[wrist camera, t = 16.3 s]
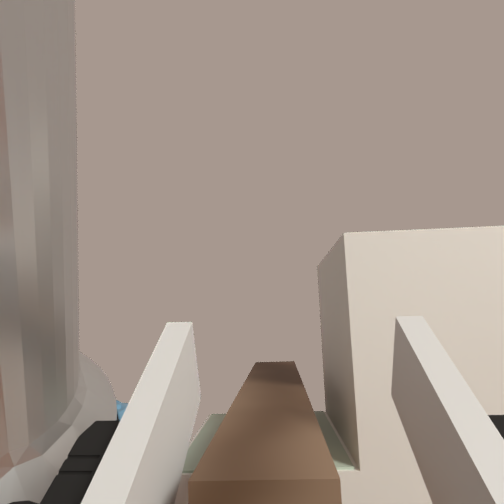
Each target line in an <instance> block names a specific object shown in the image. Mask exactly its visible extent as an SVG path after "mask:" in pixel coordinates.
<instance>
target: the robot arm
mask: <svg viewBox="0 0 504 504" xmlns="http://www.w3.org/2000/svg"><path fill="white" fill-rule="evenodd" d="M76 124H77V123H76V40H75V0H0V504H175V500H176V496H177V492H178V488H179V484H180V480H181V476H182V472H183V468H184V464H185V459H186V455H187V451H188V447H189V443H190V439H191V435H192V431H193V427H194V423H195V419H196V415H197V411H198V407H199V403H200V399H201V394H200V385H199V377H198V368H197V360H196V351H195V342H194V334H193V325H192V322H170V323H169V322H168V323H167V324H166V326H165V329H164V330H163V333H162V334H161V337H160V339H159V341H158V343H157V345H156V347H155V349H154V351H153V353H152V355H151V358H150V360H149V362H148V364H147V366H146V368H145V370H144V372H143V374H142V376H141V378H140V381H139V383H138V385H137V387H136V389H135V391H134V393H133V395H132V397H131V399H130V401H129V403H121V402H119V401H117V400H116V397H115V395H114V391H113V388H112V386H111V383H110V381H109V379H108V377H107V376H106V374H105V373H104V371H103V370H102V369H101V368H100V367H99V366H98V365H97V364H96V363H95V362H94V361H93V360H92V359H90V358H89V357H87V356H86V355H85V354H83V353H82V352H80V351H79V289H78V207H77V206H78V205H77V125H76ZM391 396H392V398H393V401H394V404H395V406H396V409H397V412H398V414H399V417H400V419H401V422H402V425H403V427H404V430H405V433H406V435H407V438H408V440H409V443H410V446H411V448H412V451H413V454H414V456H415V459H416V461H417V464H418V467H419V469H420V472H421V475H422V477H423V480H424V482H425V485H426V488H427V490H428V493H429V496H430V498H431V501H432V503H433V504H504V415H487V413H486V412H485V410H484V409H483V407H482V406H481V404H480V403H479V401H478V400H477V398H476V397H475V395H474V394H473V392H472V390H471V389H470V387H469V386H468V384H467V383H466V381H465V380H464V378H463V377H462V375H461V374H460V372H459V371H458V369H457V368H456V366H455V365H454V363H453V362H452V360H451V359H450V357H449V355H448V354H447V352H446V351H445V349H444V348H443V346H442V345H441V343H440V342H439V340H438V339H437V337H436V336H435V334H434V333H433V331H432V330H431V328H430V327H429V325H428V324H427V322H426V320H425V319H424V317H423V316H397V317H396V319H395V336H394V353H393V370H392V387H391Z"/></svg>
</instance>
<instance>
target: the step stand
mask: <svg viewBox="0 0 504 504" xmlns="http://www.w3.org/2000/svg"><path fill="white" fill-rule="evenodd" d="M317 268H318V285H319V302H320V319H321V336H322V353H323V369H324V385H325V386H324V387H325V404H326V412H323V411H314V413H315V416H316V418H317V421H318V423H319V426H320V429H321V431H322V434H323V436H324V439H325V441H326V444H327V446H328V449H329V451H330V454H331V457H332V459H333V462H334V464H335V467H336V469H337V472H338V474H339V477H340V483H341V499H342V504H433V503H432V501H431V498H430V496H429V493H428V490H427V488H426V485H425V482H424V480H423V477H422V475H421V472H420V469H419V467H418V464H417V461H416V459H415V456H414V454H413V451H412V448H411V446H410V443H409V440H408V438H407V435H406V433H405V430H404V427H403V425H402V422H401V419H400V417H399V414H398V412H397V409H396V406H395V404H394V401H393V398H392V396H391V387H392V370H393V353H394V336H395V319H396V317H397V316H423V317H424V319H425V320H426V322H427V324H428V325H429V327H430V328H431V330H432V331H433V333H434V334H435V336H436V337H437V339H438V340H439V342H440V343H441V345H442V346H443V348H444V349H445V351H446V352H447V354H448V355H449V357H450V359H451V360H452V362H453V363H454V365H455V366H456V368H457V369H458V371H459V372H460V374H461V375H462V377H463V378H464V380H465V381H466V383H467V384H468V386H469V387H470V389H471V390H472V392H473V394H474V395H475V397H476V398H477V400H478V401H479V403H480V404H481V406H482V407H483V409H484V410H485V412H486V413H487V415H504V226H490V227H467V228H443V229H421V230H398V231H375V232H352V233H343V234H342V236H341V237H340V238H339V239H338V241H337V242H336V243H335V245H334V246H333V247H332V248H331V250H330V251H329V252H328V254H327V255H326V256H325V257H324V259H323V260H322V261H321V263H320V264H319V265H318V266H317ZM225 416H226V414H212V415H209V416H208V418H207V419H206V421H205V422H204V424H203V425H202V426H201V428H200V429H199V431H198V432H197V434H196V435H195V436H194V438H193V439H192V441H191V442H190V444H189V447H188V451H187V455H186V459H185V464H184V468H183V472H182V476H181V480H180V484H179V488H178V492H177V496H176V500H175V504H188V480H189V479H190V477H191V475H192V473H193V472H194V470H195V468H196V466H197V465H198V463H199V461H200V459H201V458H202V456H203V454H204V452H205V451H206V449H207V447H208V445H209V444H210V442H211V440H212V438H213V437H214V435H215V433H216V431H217V430H218V428H219V426H220V424H221V423H222V421H223V419H224V417H225Z"/></svg>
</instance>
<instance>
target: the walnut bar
mask: <svg viewBox="0 0 504 504" xmlns="http://www.w3.org/2000/svg"><path fill="white" fill-rule="evenodd" d="M188 504H342V499H341V483H340V477H339V474H338V472H337V469H336V467H335V464H334V462H333V459H332V457H331V454H330V451H329V449H328V446H327V444H326V441H325V439H324V436H323V434H322V431H321V429H320V426H319V423H318V421H317V418H316V416H315V413H314V411H313V408H312V406H311V403H310V401H309V398H308V396H307V393H306V390H305V388H304V385H303V383H302V380H301V378H300V375H299V373H298V370H297V368H296V365H295V362H294V361H291V362H260V363H259V362H257V363H255V365H254V366H253V368H252V370H251V372H250V373H249V375H248V377H247V379H246V381H245V382H244V384H243V386H242V387H241V389H240V391H239V393H238V395H237V396H236V398H235V400H234V401H233V403H232V405H231V407H230V408H229V410H228V412H227V414H226V416H225V417H224V419H223V421H222V423H221V424H220V426H219V428H218V430H217V431H216V433H215V435H214V437H213V438H212V440H211V442H210V444H209V445H208V447H207V449H206V451H205V452H204V454H203V456H202V458H201V459H200V461H199V463H198V465H197V466H196V468H195V470H194V472H193V473H192V475H191V477H190V479H189V480H188Z"/></svg>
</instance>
